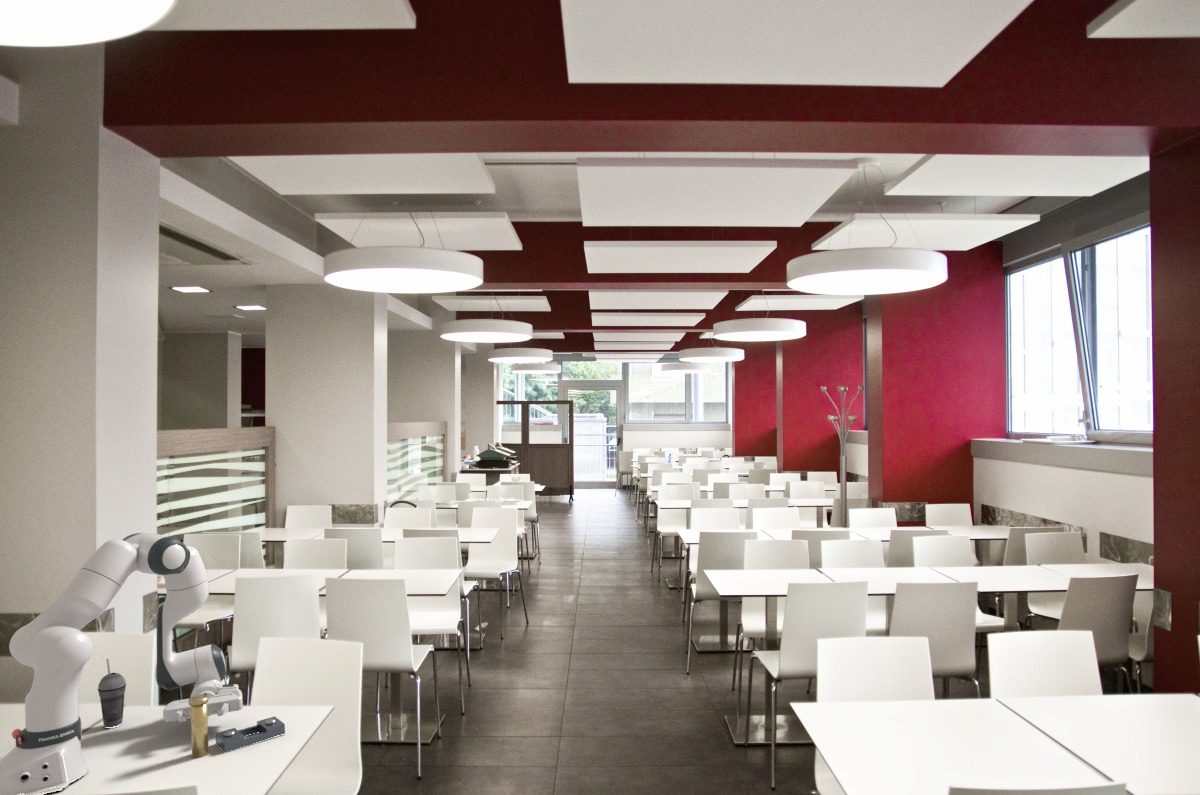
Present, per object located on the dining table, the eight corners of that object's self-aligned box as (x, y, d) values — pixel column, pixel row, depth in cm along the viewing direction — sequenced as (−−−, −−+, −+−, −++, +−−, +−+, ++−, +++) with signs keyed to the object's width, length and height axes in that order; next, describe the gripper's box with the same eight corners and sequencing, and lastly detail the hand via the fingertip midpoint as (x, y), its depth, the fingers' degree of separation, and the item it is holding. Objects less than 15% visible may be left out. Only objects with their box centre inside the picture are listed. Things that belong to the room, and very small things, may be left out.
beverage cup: (117, 730, 227) (115, 662, 227) (92, 731, 227) (91, 662, 227) (132, 720, 234) (131, 654, 234) (109, 721, 234) (107, 655, 235)
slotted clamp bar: (224, 752, 208) (224, 739, 208) (215, 744, 214) (215, 731, 214) (285, 734, 219) (284, 721, 219) (275, 726, 225) (274, 714, 225)
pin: (193, 760, 204) (191, 703, 205) (188, 754, 208) (186, 698, 208) (212, 754, 208) (210, 698, 208) (207, 748, 211) (205, 693, 212)
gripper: (165, 694, 223) (158, 711, 210) (243, 683, 231) (241, 698, 218) (166, 716, 223) (159, 734, 210) (244, 704, 231) (241, 720, 218)
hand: (201, 716), depth 214 cm, fingers open, 8 cm apart
